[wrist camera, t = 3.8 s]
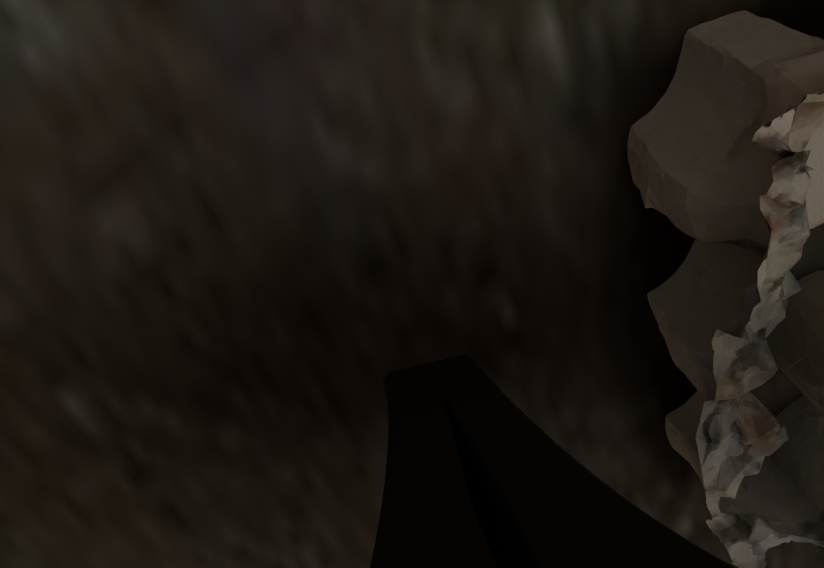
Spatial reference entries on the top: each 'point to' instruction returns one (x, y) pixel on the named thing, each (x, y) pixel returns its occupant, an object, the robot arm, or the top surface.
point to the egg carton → (743, 271)
